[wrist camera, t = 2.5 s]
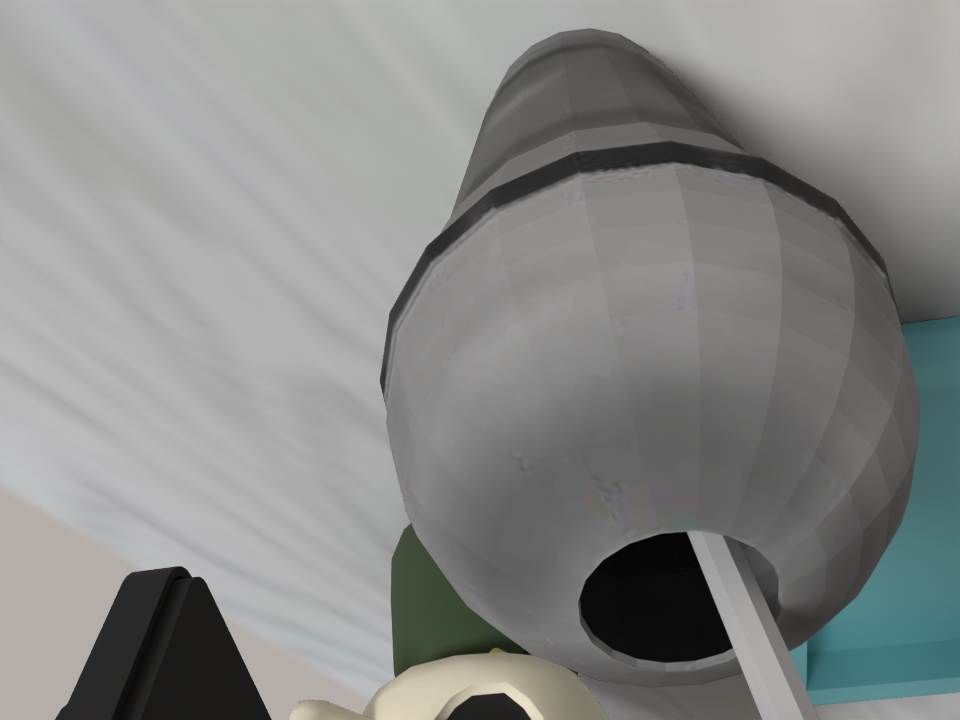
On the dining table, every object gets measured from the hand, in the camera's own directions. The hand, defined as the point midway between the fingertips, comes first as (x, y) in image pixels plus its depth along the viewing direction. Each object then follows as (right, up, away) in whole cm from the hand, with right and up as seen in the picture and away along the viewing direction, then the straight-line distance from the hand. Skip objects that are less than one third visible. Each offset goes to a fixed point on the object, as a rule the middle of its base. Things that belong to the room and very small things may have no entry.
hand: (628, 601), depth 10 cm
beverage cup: (+1, +9, +13) cm, 15 cm away
